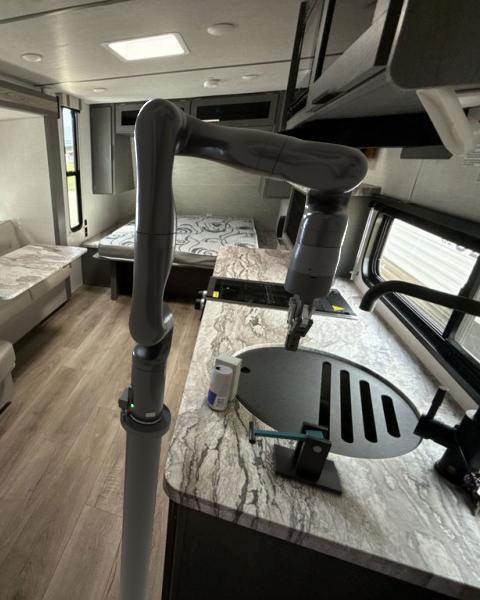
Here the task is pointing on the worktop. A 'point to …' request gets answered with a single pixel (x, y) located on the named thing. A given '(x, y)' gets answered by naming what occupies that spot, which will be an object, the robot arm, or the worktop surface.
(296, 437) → the black and teal hammer
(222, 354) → the cosmetic box
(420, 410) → the worktop surface
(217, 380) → the energy drink
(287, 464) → the black lever stand
